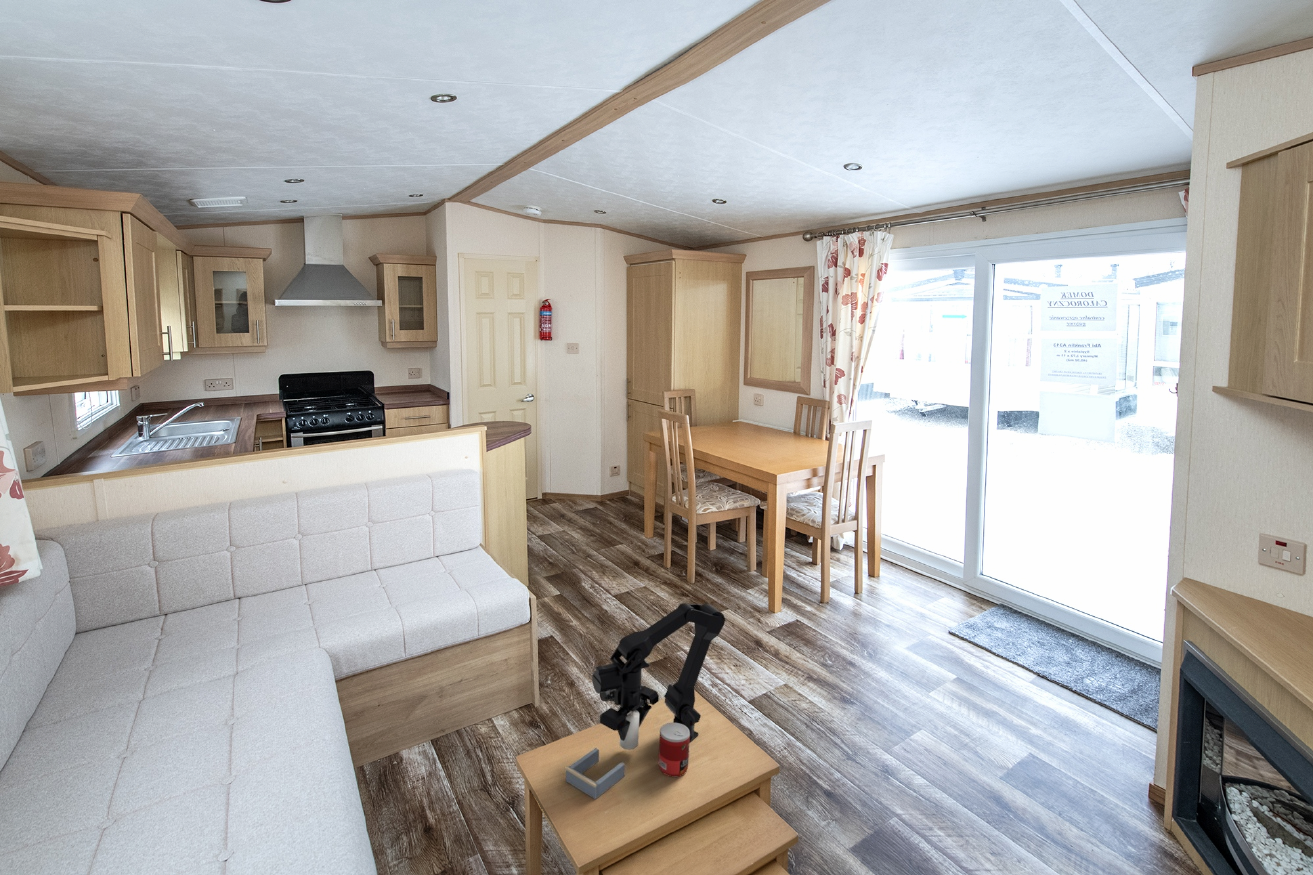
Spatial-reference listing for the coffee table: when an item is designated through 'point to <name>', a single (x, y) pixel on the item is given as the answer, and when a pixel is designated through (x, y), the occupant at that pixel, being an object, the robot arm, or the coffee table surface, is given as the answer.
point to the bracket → (587, 784)
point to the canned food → (674, 749)
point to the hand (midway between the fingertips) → (629, 735)
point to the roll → (631, 732)
